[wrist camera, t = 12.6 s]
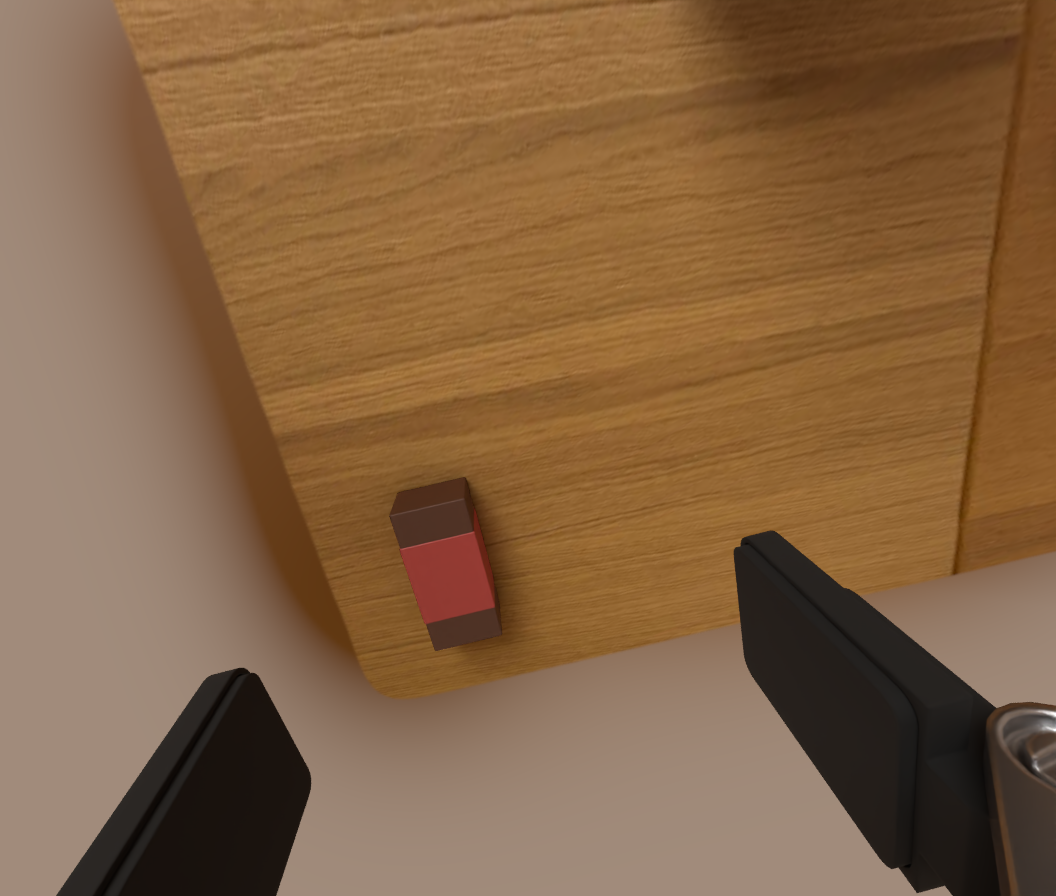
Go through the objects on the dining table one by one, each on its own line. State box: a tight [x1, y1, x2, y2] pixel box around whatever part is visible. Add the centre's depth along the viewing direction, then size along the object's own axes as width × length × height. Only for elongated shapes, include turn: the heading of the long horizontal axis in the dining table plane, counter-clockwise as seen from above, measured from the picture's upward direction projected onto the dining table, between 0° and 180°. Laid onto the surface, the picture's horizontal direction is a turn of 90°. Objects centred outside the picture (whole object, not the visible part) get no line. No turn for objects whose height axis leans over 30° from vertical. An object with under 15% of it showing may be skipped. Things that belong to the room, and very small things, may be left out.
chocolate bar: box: [389, 477, 502, 651], centre depth 28 cm, size 9×4×3 cm, turn 12°
